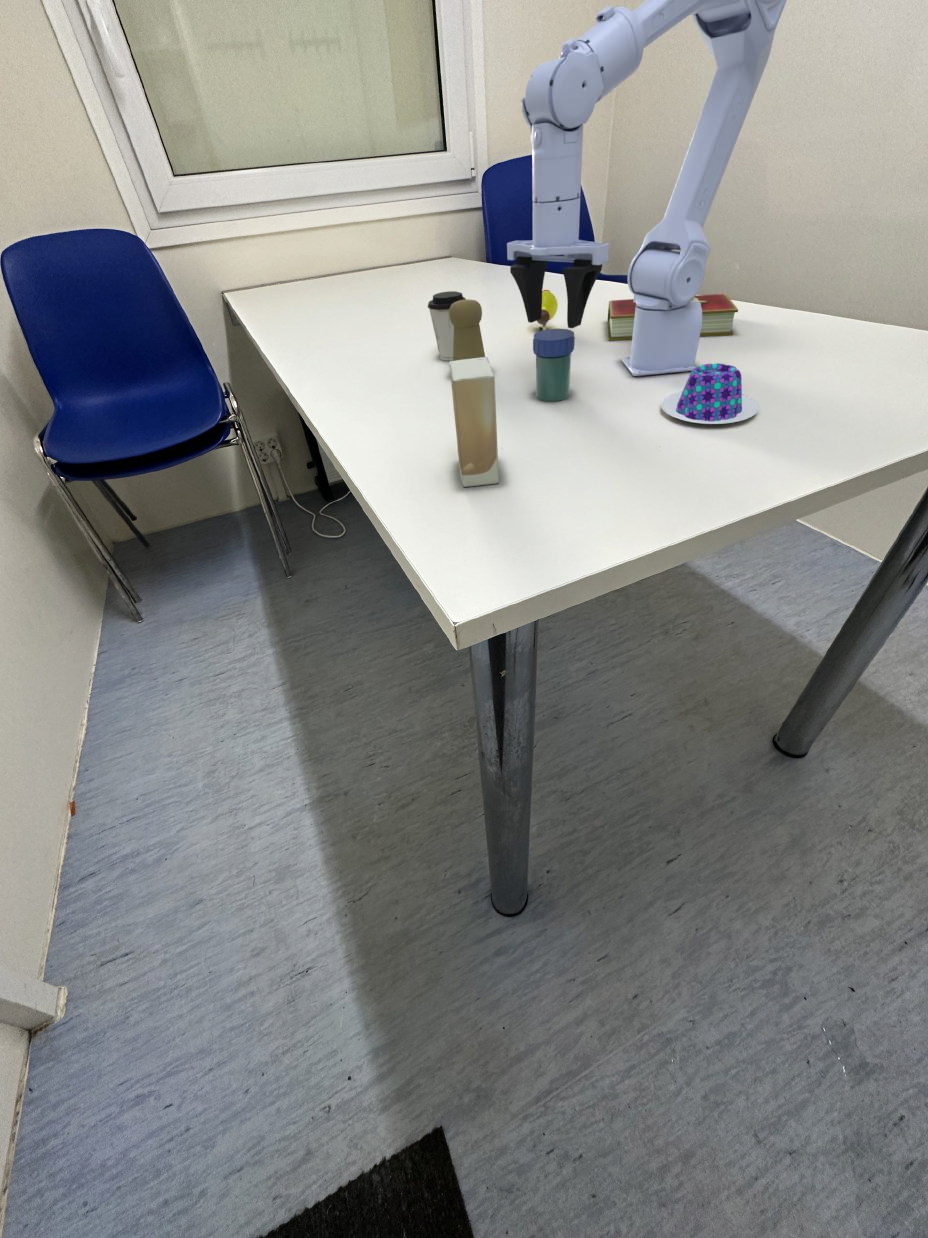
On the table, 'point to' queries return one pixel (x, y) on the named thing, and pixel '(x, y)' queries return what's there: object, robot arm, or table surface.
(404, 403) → the table surface
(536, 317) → the robot arm
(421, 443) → the table surface
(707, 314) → the hardcover book
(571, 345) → the lid
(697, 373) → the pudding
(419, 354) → the table surface
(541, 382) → the jar
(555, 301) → the toy figure
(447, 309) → the coffee cup
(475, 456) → the cosmetic box
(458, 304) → the cork
